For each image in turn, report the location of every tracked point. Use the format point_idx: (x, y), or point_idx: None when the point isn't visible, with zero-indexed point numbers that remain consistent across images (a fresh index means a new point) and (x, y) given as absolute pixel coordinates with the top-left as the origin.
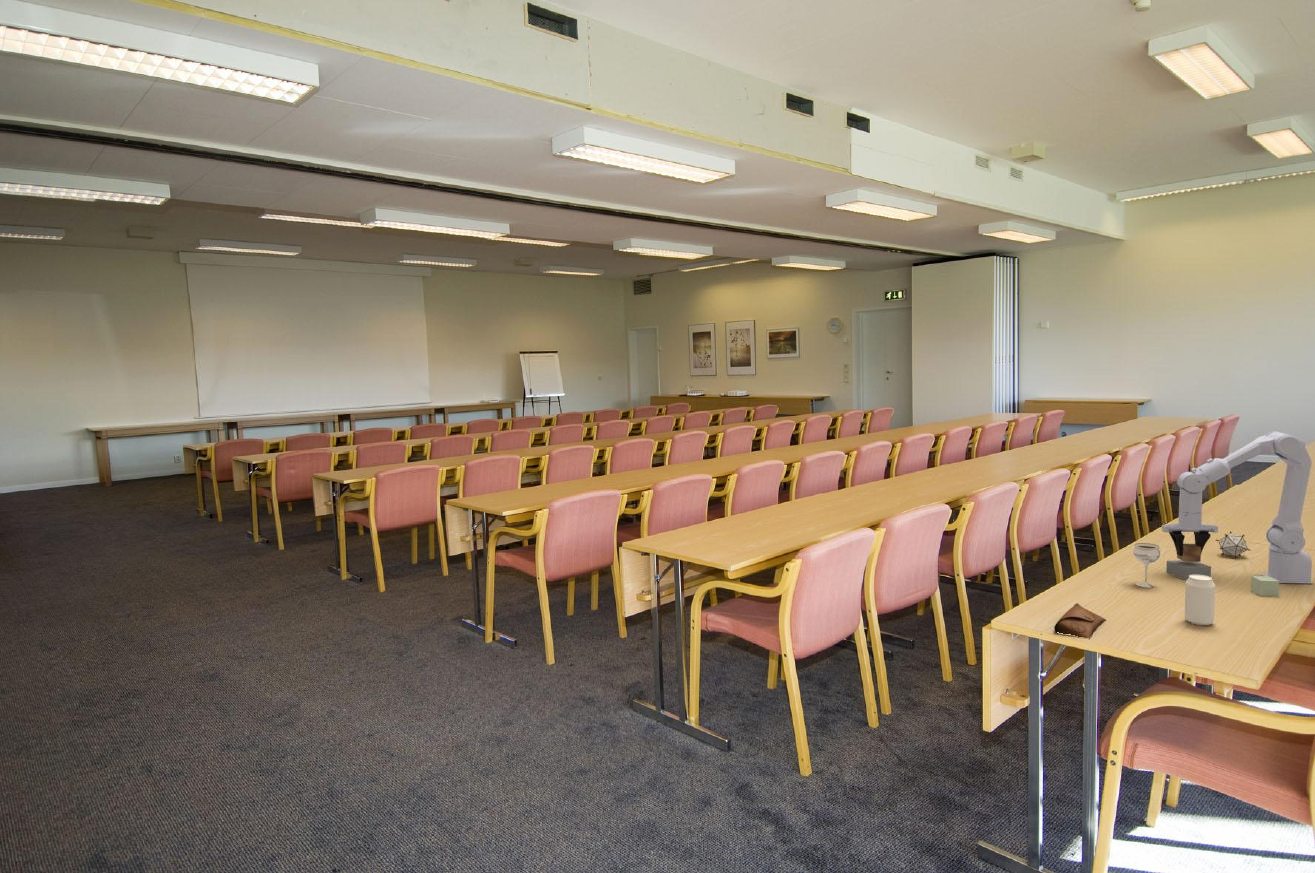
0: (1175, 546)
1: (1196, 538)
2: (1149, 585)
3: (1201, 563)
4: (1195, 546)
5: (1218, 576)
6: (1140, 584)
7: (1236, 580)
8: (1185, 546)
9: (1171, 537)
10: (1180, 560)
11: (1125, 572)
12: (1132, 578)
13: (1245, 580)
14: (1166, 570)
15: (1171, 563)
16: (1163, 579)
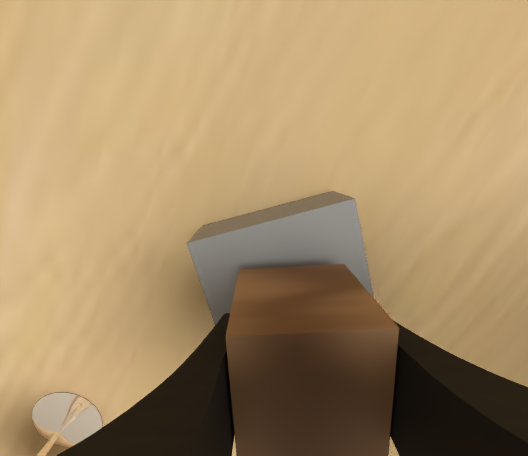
0: (200, 349)
1: (450, 446)
2: (74, 441)
3: (366, 284)
4: (352, 436)
5: (408, 271)
6: (43, 430)
7: (447, 323)
8: (258, 442)
9: (115, 423)
10: (274, 225)
11: (8, 249)
12: (29, 341)
13: (483, 319)
14: (201, 228)
15: (202, 281)
16: (155, 341)
